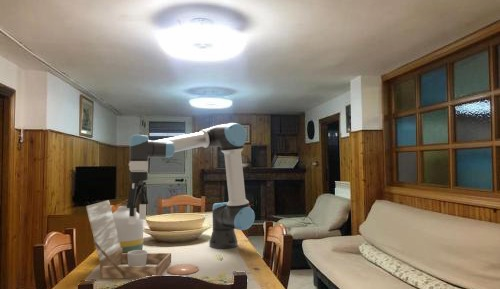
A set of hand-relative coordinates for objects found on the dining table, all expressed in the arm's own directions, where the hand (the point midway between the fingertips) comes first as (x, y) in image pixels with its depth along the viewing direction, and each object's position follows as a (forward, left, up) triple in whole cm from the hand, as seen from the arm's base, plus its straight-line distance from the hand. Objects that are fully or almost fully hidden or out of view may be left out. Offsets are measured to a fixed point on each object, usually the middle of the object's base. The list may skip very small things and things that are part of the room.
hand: (137, 221), depth 160 cm
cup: (0, 0, -21) cm, 21 cm away
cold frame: (0, 0, -20) cm, 20 cm away
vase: (+13, -23, -21) cm, 33 cm away
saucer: (-19, 0, -20) cm, 28 cm away
